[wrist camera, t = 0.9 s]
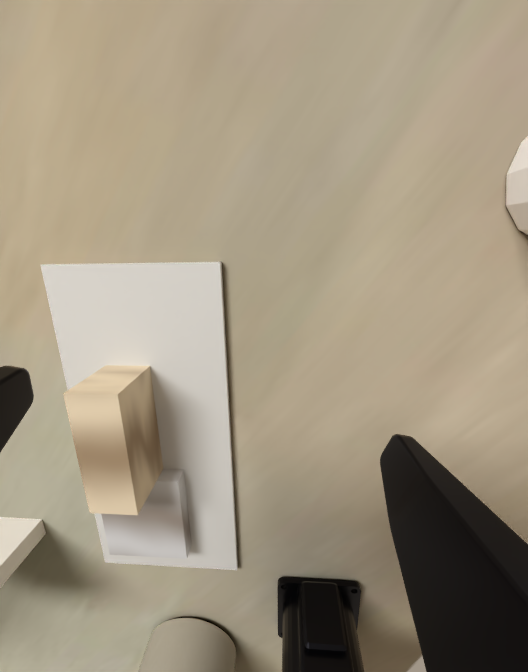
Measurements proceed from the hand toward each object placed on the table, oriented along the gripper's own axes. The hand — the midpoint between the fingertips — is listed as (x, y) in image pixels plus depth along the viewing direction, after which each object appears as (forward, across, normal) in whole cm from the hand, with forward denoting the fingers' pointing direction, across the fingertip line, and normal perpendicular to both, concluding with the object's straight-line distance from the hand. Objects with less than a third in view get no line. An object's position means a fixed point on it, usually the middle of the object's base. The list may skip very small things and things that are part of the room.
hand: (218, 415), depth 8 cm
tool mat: (+10, +4, +13) cm, 17 cm away
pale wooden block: (+9, +5, +15) cm, 18 cm away
